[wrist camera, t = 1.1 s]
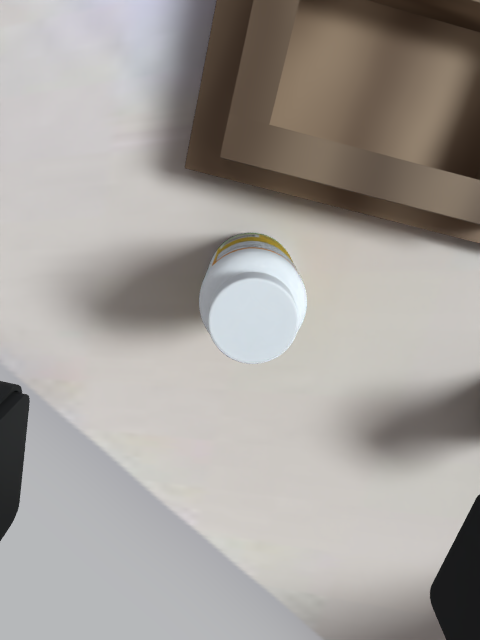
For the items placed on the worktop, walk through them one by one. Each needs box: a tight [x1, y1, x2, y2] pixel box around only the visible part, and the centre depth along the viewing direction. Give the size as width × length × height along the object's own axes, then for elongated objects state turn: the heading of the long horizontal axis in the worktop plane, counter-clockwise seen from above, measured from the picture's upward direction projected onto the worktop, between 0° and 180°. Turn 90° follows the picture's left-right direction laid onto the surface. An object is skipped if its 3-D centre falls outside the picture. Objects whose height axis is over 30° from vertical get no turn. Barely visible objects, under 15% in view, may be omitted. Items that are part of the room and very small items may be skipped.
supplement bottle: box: [199, 233, 307, 364], centre depth 24 cm, size 5×5×10 cm
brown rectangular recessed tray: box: [185, 0, 480, 243], centre depth 23 cm, size 20×13×4 cm, turn 76°
